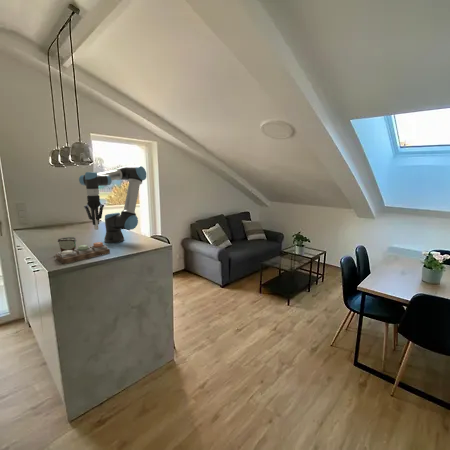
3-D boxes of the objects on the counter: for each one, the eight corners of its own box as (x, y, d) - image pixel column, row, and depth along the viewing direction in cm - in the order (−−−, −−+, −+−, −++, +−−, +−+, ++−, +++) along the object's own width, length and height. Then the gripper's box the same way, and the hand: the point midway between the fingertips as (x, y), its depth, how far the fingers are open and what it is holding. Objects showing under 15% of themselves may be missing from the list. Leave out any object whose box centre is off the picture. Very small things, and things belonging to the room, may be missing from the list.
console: (100, 249, 194) (100, 243, 193) (109, 253, 185) (109, 246, 184) (56, 259, 172) (55, 252, 171) (64, 263, 163) (63, 256, 162)
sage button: (86, 247, 182) (85, 244, 181) (89, 249, 178) (89, 245, 178) (76, 249, 177) (76, 246, 177) (80, 251, 174) (80, 247, 173)
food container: (81, 250, 193) (79, 236, 191) (76, 252, 186) (75, 238, 185) (63, 250, 192) (62, 237, 190) (58, 252, 186) (57, 239, 184)
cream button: (70, 253, 175) (70, 249, 174) (74, 254, 171) (73, 251, 170) (60, 255, 170) (60, 251, 170) (63, 257, 166) (63, 253, 166)
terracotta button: (100, 244, 189) (100, 241, 189) (104, 246, 185) (104, 243, 185) (92, 246, 185) (91, 243, 184) (95, 248, 181) (95, 244, 181)
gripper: (85, 196, 171) (89, 231, 175) (105, 194, 181) (108, 228, 185) (80, 195, 176) (84, 230, 180) (100, 194, 186) (103, 227, 190)
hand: (96, 229), depth 183 cm, fingers closed
